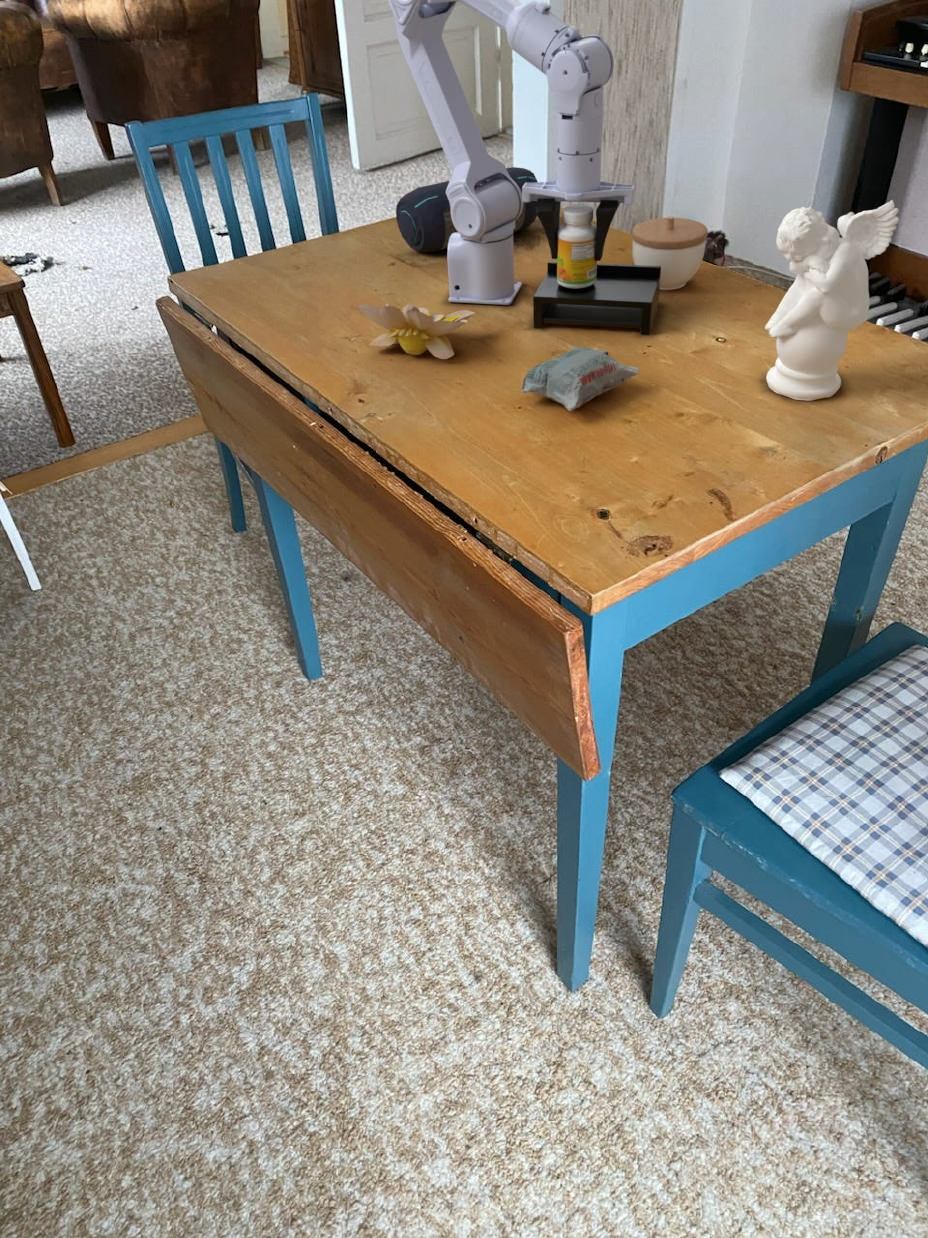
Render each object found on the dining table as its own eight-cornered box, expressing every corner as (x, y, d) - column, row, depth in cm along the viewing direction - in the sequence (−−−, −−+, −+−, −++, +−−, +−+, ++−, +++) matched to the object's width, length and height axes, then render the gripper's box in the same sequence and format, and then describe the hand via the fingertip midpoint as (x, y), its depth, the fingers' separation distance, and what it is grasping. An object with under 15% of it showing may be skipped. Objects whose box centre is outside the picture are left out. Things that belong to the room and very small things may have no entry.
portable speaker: (420, 264, 154) (414, 200, 147) (393, 247, 161) (387, 185, 154) (551, 232, 162) (551, 169, 156) (520, 217, 169) (519, 156, 163)
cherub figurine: (745, 389, 115) (773, 198, 101) (781, 350, 123) (812, 167, 109) (846, 411, 109) (891, 213, 95) (878, 369, 117) (924, 179, 103)
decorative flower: (499, 325, 129) (483, 258, 122) (462, 377, 123) (443, 311, 116) (406, 317, 136) (386, 253, 128) (367, 366, 130) (343, 302, 123)
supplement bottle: (554, 276, 134) (554, 204, 127) (592, 273, 134) (594, 200, 127) (560, 290, 129) (561, 216, 123) (599, 287, 130) (602, 213, 123)
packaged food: (637, 390, 116) (639, 351, 113) (570, 425, 111) (570, 385, 108) (584, 369, 122) (585, 332, 118) (518, 402, 116) (516, 364, 113)
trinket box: (698, 268, 146) (705, 204, 140) (705, 295, 138) (712, 229, 132) (628, 269, 147) (631, 206, 141) (630, 296, 139) (634, 230, 133)
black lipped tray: (533, 328, 132) (533, 287, 129) (548, 300, 140) (548, 261, 136) (649, 334, 128) (652, 293, 125) (658, 305, 136) (661, 265, 132)
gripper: (515, 157, 120) (518, 265, 128) (631, 158, 116) (625, 270, 125) (528, 142, 125) (529, 247, 133) (639, 143, 121) (633, 251, 130)
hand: (576, 257), depth 129 cm, fingers closed on supplement bottle, 5 cm apart
